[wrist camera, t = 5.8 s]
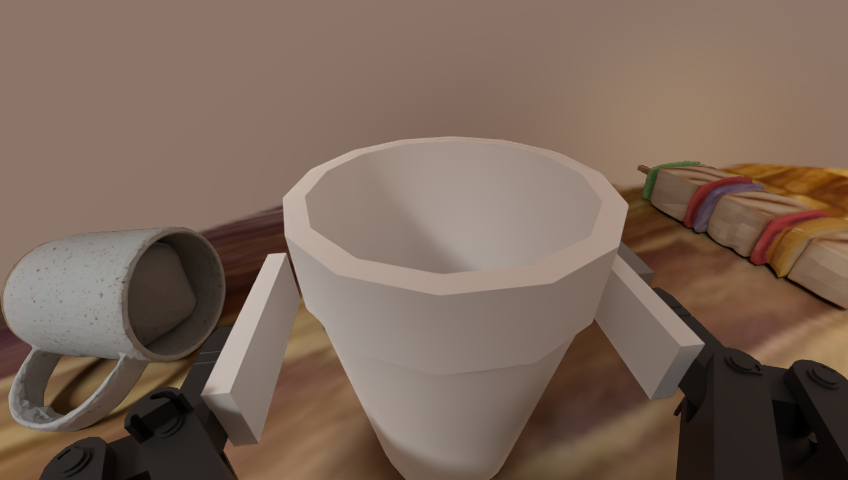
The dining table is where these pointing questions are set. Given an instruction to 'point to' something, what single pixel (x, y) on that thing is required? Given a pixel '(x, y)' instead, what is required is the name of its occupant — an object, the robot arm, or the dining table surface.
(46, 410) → the ceramic mug
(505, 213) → the foam cup
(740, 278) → the dining table surface
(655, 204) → the skewer
